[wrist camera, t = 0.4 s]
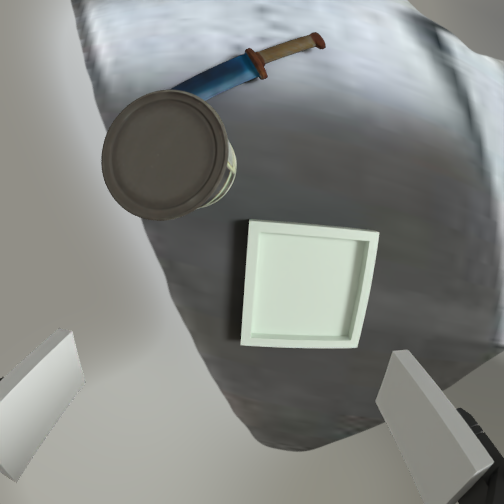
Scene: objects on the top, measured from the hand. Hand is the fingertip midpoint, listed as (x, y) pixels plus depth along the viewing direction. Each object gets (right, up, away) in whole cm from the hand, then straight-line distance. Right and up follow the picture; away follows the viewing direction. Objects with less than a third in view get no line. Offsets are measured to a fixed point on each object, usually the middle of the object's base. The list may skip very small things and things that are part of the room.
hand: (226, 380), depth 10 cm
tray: (+8, 0, +26) cm, 28 cm away
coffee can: (-6, +15, +24) cm, 29 cm away
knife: (-1, +27, +21) cm, 34 cm away
